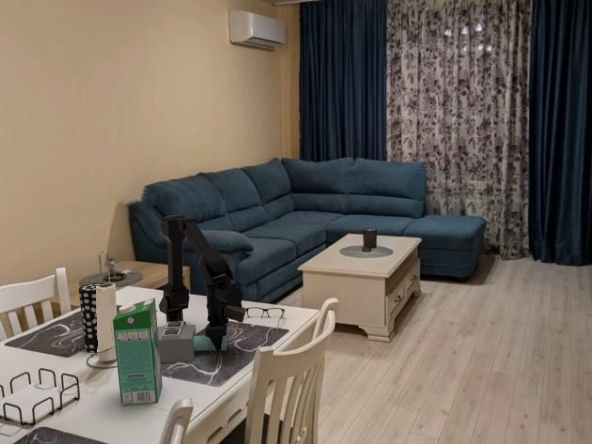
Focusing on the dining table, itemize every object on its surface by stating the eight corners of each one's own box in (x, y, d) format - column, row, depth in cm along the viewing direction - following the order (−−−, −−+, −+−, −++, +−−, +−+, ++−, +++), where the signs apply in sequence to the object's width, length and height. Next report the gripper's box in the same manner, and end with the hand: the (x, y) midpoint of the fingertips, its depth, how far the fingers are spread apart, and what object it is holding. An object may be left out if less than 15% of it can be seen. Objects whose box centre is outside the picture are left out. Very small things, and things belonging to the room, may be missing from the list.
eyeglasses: (285, 318, 200) (285, 307, 199) (277, 334, 186) (276, 322, 185) (246, 317, 202) (245, 306, 202) (235, 332, 188) (234, 321, 188)
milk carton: (128, 388, 151) (119, 299, 146) (162, 386, 152) (155, 297, 147) (121, 405, 142) (111, 311, 137) (157, 402, 143) (149, 308, 138)
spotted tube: (104, 353, 174) (97, 291, 170) (79, 352, 176) (72, 290, 172) (117, 343, 182) (111, 283, 178) (94, 341, 184) (88, 282, 180)
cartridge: (158, 357, 169) (157, 340, 168) (161, 350, 174) (160, 334, 173) (225, 353, 170) (224, 336, 169) (226, 346, 175) (225, 330, 174)
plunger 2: (167, 333, 169) (166, 328, 169) (178, 332, 169) (177, 328, 169) (165, 337, 166) (165, 332, 166) (176, 337, 166) (176, 332, 166)
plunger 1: (170, 326, 175) (169, 321, 175) (180, 325, 175) (180, 320, 175) (168, 330, 172) (168, 325, 171) (179, 329, 172) (178, 324, 172)
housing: (158, 348, 177) (155, 322, 175) (196, 345, 178) (195, 320, 176) (151, 363, 166) (149, 336, 164) (193, 360, 167) (191, 333, 165)
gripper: (242, 307, 161) (245, 358, 164) (243, 287, 179) (246, 334, 182) (203, 309, 160) (206, 361, 163) (208, 289, 178) (211, 336, 181)
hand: (219, 347), depth 172 cm, fingers closed on cartridge, 5 cm apart
